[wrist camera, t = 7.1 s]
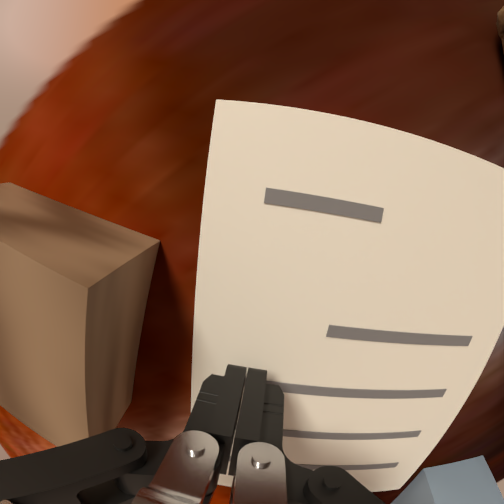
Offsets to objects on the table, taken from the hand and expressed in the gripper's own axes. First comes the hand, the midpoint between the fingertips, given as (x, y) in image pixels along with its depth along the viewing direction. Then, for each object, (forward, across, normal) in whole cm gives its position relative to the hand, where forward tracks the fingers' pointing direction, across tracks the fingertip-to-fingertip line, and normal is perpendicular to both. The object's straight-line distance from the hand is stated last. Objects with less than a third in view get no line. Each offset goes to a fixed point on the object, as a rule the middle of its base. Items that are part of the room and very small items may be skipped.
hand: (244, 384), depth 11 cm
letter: (+1, -5, 0) cm, 5 cm away
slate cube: (+1, -16, +11) cm, 19 cm away
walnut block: (+1, +9, -1) cm, 9 cm away
